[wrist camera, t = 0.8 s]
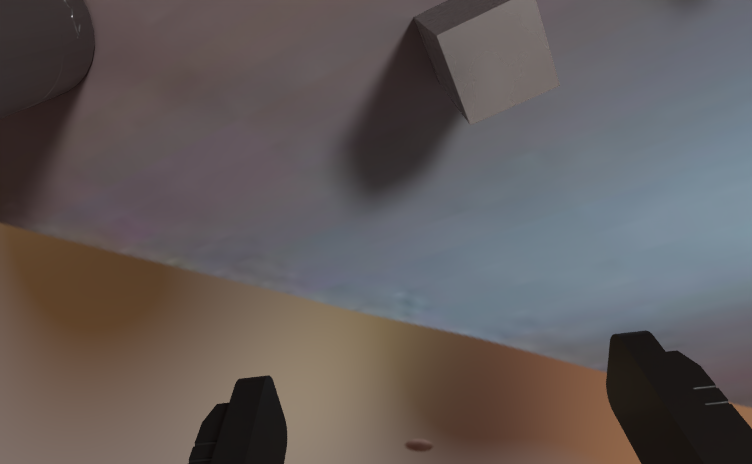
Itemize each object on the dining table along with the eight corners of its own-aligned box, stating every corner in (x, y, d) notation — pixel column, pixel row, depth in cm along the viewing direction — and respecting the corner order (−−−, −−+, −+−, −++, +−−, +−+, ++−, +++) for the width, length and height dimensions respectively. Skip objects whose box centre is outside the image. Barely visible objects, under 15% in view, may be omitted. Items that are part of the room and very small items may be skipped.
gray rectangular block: (501, 53, 34) (559, 85, 24) (438, 82, 35) (470, 125, 25) (479, -16, 32) (532, -11, 22) (413, 17, 33) (436, 35, 23)
